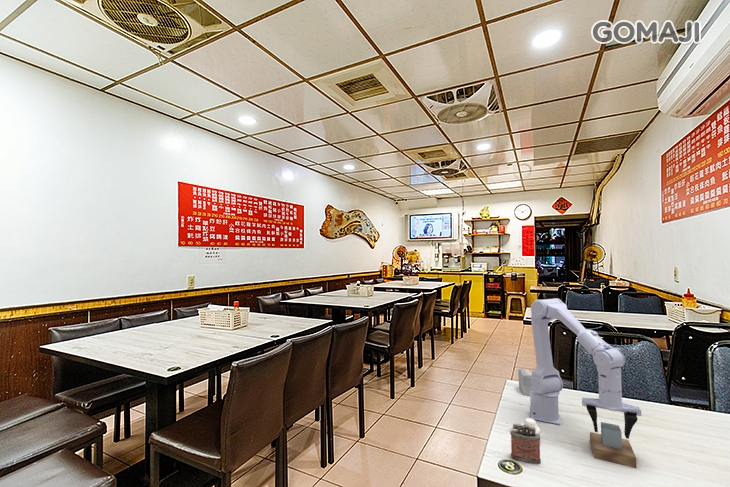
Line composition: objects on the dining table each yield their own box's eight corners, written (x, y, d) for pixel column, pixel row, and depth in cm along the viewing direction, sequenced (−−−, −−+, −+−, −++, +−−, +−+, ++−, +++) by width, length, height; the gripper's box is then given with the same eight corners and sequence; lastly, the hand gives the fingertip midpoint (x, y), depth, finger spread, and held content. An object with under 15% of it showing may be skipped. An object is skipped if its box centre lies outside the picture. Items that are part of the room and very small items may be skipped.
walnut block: (594, 458, 100) (593, 447, 100) (589, 441, 109) (589, 431, 109) (636, 468, 95) (636, 457, 95) (628, 449, 104) (628, 439, 104)
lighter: (539, 458, 100) (539, 424, 100) (541, 465, 96) (541, 430, 97) (510, 453, 102) (509, 420, 103) (511, 460, 99) (510, 425, 99)
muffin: (521, 443, 108) (520, 421, 108) (519, 433, 113) (519, 412, 114) (542, 447, 106) (542, 424, 106) (539, 436, 111) (539, 415, 112)
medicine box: (534, 396, 143) (533, 375, 143) (523, 395, 144) (522, 375, 144) (529, 388, 151) (528, 369, 151) (518, 388, 151) (518, 368, 152)
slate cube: (603, 445, 101) (603, 428, 101) (601, 438, 105) (600, 421, 105) (622, 449, 99) (621, 432, 99) (619, 441, 103) (618, 425, 103)
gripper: (583, 389, 102) (584, 434, 102) (643, 398, 95) (644, 446, 95) (580, 381, 108) (581, 423, 108) (637, 389, 102) (638, 434, 101)
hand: (611, 433), depth 102 cm, fingers open, 7 cm apart
